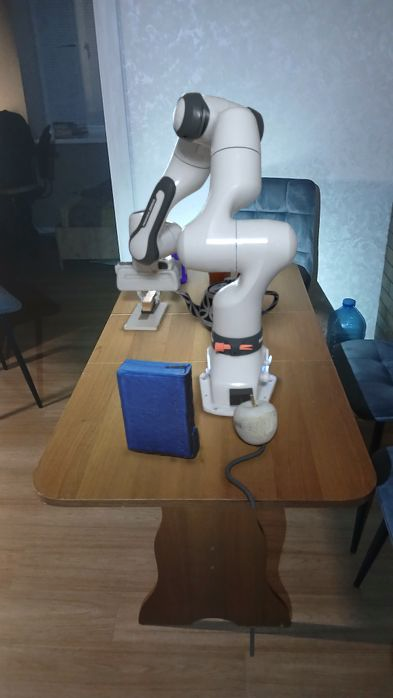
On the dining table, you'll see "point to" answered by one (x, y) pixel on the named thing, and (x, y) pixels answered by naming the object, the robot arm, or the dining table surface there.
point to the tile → (146, 318)
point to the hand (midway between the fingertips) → (150, 302)
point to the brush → (149, 303)
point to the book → (158, 407)
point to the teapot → (206, 305)
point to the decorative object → (255, 421)
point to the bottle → (180, 268)
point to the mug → (219, 276)
